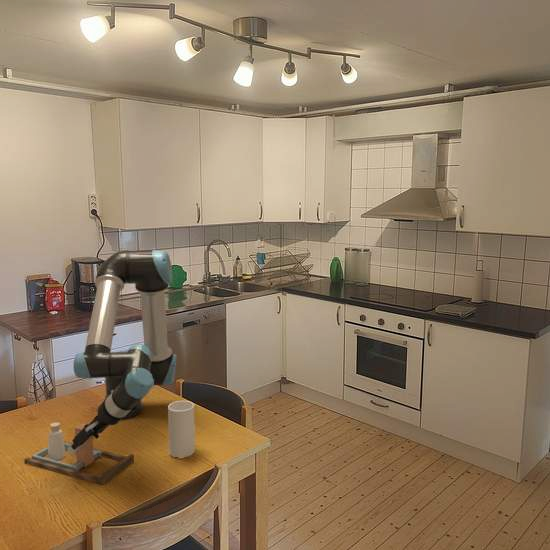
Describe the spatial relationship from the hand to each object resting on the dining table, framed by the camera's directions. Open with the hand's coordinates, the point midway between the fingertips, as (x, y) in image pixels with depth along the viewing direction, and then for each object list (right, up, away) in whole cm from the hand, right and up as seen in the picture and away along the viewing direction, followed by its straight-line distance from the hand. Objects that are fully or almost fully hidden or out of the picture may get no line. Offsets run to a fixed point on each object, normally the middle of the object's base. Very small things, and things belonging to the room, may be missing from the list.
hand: (75, 448), depth 159 cm
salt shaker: (-7, -4, +4) cm, 9 cm away
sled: (-3, -4, +2) cm, 5 cm away
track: (+1, -4, 0) cm, 4 cm away
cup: (+32, -4, +7) cm, 33 cm away
